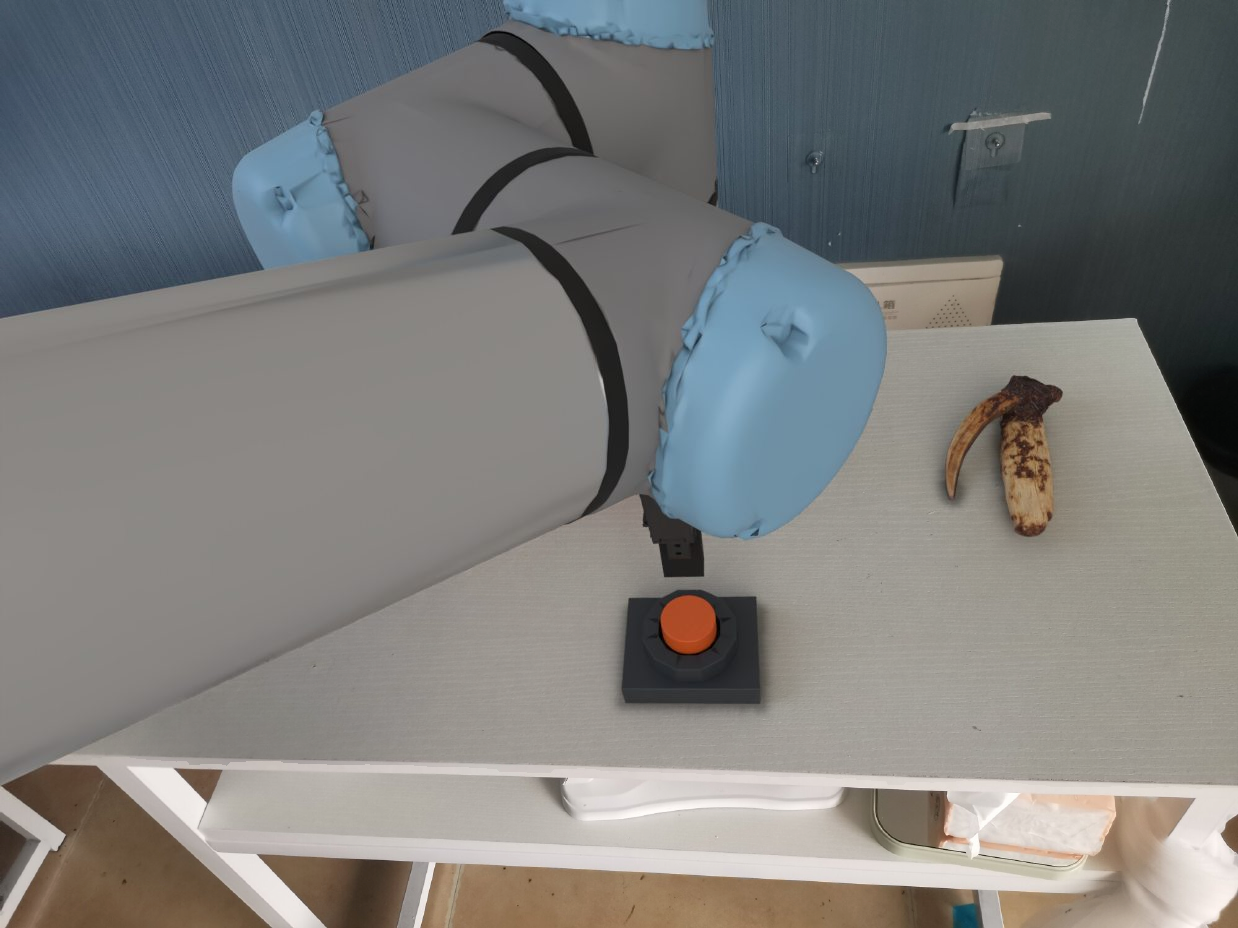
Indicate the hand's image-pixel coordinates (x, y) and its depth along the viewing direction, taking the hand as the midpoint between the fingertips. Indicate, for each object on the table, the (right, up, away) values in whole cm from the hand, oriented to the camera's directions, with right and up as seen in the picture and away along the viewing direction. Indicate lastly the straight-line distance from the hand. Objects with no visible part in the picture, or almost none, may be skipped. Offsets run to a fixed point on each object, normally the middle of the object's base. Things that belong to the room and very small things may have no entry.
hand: (684, 567), depth 60 cm
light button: (+1, -5, +5) cm, 8 cm away
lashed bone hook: (+29, +7, +17) cm, 34 cm away
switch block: (+1, -8, +8) cm, 11 cm away
